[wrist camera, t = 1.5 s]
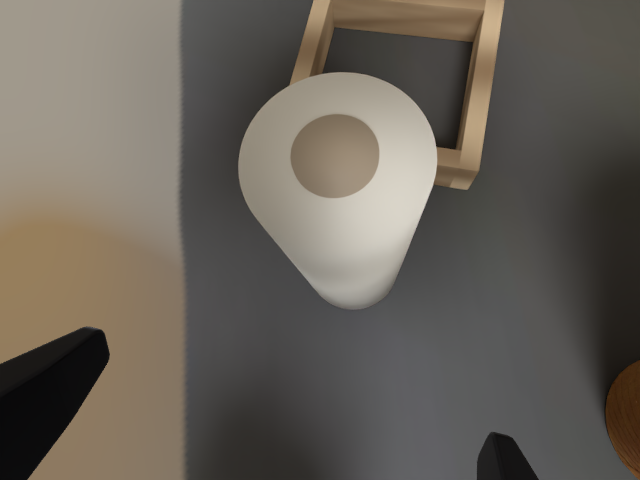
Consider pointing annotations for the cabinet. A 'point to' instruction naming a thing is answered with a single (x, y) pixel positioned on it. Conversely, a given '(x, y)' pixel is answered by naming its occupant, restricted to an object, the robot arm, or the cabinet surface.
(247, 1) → the cabinet surface
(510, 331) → the cabinet surface
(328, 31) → the oak holder
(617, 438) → the disposable coffee cup
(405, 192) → the paper roll
